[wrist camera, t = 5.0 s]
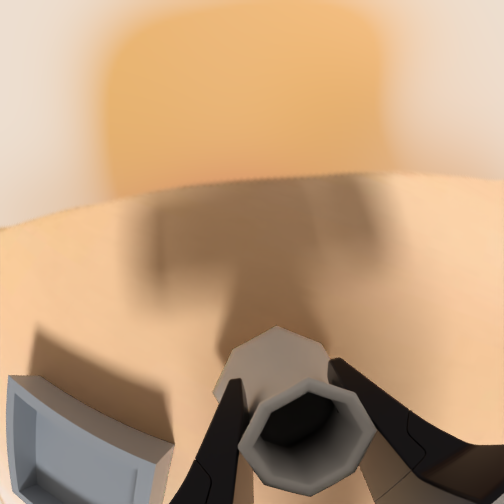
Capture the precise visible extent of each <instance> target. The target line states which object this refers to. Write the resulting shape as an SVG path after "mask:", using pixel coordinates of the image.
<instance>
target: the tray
mask: <svg viewBox="0 0 504 504" xmlns="http://www.w3.org/2000/svg"><path fill="white" fill-rule="evenodd" d="M6 435H7V452H8V463H9V471H10V479H11V485H12V491H13V492H14V493H15V494H16V495H17V496H18V497H19V498H20V499H21V500H23V501H24V502H25V503H26V504H162V503H163V498H164V493H165V488H166V483H167V478H168V474H169V469H170V464H171V459H172V455H173V450H174V446H175V444H172V443H169V442H166V441H164V440H161V439H158V438H156V437H153V436H151V435H148V434H146V433H143V432H141V431H138V430H136V429H134V428H132V427H129V426H127V425H125V424H123V423H121V422H118V421H116V420H114V419H112V418H110V417H108V416H106V415H104V414H102V413H100V412H98V411H96V410H95V409H93V408H91V407H89V406H87V405H86V404H84V403H82V402H80V401H79V400H77V399H75V398H73V397H72V396H70V395H68V394H67V393H65V392H64V391H62V390H60V389H59V388H57V387H56V386H54V385H53V384H51V383H50V382H48V381H47V380H45V379H44V378H43V377H41V376H19V375H8V386H7V403H6Z"/></svg>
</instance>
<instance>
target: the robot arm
mask: <svg viewBox="0 0 504 504" xmlns="http://www.w3.org/2000/svg"><path fill="white" fill-rule="evenodd" d="M327 378H328V382H329V384H331V385H334V386H337V387H340V388H343V389H346V390H349V391H352V392H354V393H356V395H357V396H358V398H359V400H360V402H361V403H362V405H363V407H364V409H365V410H366V412H367V414H368V415H369V417H370V419H371V421H372V422H373V424H374V426H375V428H376V429H377V431H376V433H375V435H374V437H373V439H372V441H371V443H370V445H369V447H368V449H367V451H366V453H365V455H364V457H363V458H362V460H361V462H360V464H359V466H360V468H361V471H362V473H363V476H364V478H365V480H366V483H367V485H368V488H369V490H370V493H371V495H372V497H373V500H374V502H375V504H504V445H474V444H470V443H467V442H464V441H462V440H460V439H458V438H456V437H454V436H452V435H450V434H448V433H446V432H444V431H442V430H441V429H439V428H437V427H435V426H433V425H432V424H430V423H428V422H427V421H425V420H424V419H422V418H421V417H419V416H418V415H416V414H415V413H413V412H412V411H411V410H409V409H408V408H407V407H405V406H404V405H402V404H401V403H400V402H398V401H397V400H396V399H394V398H393V397H392V396H390V395H389V394H388V393H386V392H385V391H384V390H382V389H381V388H380V387H378V386H377V385H376V384H374V383H373V382H372V381H370V380H369V379H368V378H366V377H365V376H364V375H362V374H361V373H360V372H358V371H357V370H356V369H355V368H353V367H352V366H351V365H349V364H348V363H347V362H345V361H344V360H343V359H341V358H334V359H330V360H329V361H328V370H327ZM335 407H336V406H335ZM336 410H337V408H336ZM337 413H339V411H338V410H337ZM249 423H250V422H249V411H248V404H247V398H246V392H245V389H244V385H243V381H242V379H241V378H234V379H230V380H229V382H228V384H227V386H226V389H225V391H224V393H223V396H222V398H221V400H220V403H219V405H218V407H217V410H216V412H215V414H214V417H213V419H212V421H211V423H210V426H209V428H208V430H207V433H206V435H205V437H204V439H203V442H202V444H201V446H200V448H199V451H198V453H197V455H196V457H195V459H196V460H194V461H193V464H192V466H191V468H190V470H189V472H188V474H187V476H186V478H185V480H184V482H183V483H182V485H181V487H180V488H179V490H178V491H177V493H176V494H175V496H174V497H173V499H172V500H171V502H170V503H169V504H254V496H253V469H252V468H251V466H250V465H249V464H248V462H247V461H246V459H245V458H244V456H243V455H242V453H241V452H240V451H239V449H238V444H239V442H240V440H241V438H242V437H243V435H244V433H245V431H246V429H247V427H248V425H249Z"/></svg>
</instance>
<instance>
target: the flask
mask: <svg viewBox="0 0 504 504" xmlns="http://www.w3.org/2000/svg"><path fill="white" fill-rule="evenodd" d="M329 360H330V357H329V355H328V354H327V352H326V350H325V349H324V347H323V345H322V344H321V343H319V342H317V341H314V340H312V339H309V338H306V337H304V336H301V335H299V334H296V333H294V332H291V331H289V330H287V329H284V328H282V327H279V326H277V325H276V326H274V327H273V328H271V329H269V330H267V331H265V332H264V333H262V334H260V335H258V336H256V337H255V338H253V339H251V340H249V341H247V342H245V343H243V344H242V345H240V346H238V347H236V348H234V349H233V350H232V352H231V354H230V356H229V358H228V360H227V362H226V364H225V367H224V369H223V371H222V373H221V375H220V377H219V379H218V381H217V383H216V385H215V388H214V390H213V394H214V396H215V398H216V399H217V401H218V403H220V400H221V398H222V396H223V393H224V391H225V389H226V386H227V384H228V382H229V380H230V379H234V378H241V379H242V381H243V385H244V389H245V392H246V398H247V404H248V411H249V422H250V423H249V425H248V427H247V429H246V431H245V433H244V435H243V437H242V438H241V440H240V442H239V444H238V449H239V451H240V452H241V453H242V455H243V456H244V458H245V459H246V461H247V462H248V464H249V465H250V466H251V468H252V469H253V470H254V472H255V473H256V475H257V476H258V477H259V479H260V480H261V481H262V483H263V484H264V485H267V486H270V487H273V488H277V489H281V490H284V491H288V492H292V493H296V494H301V495H305V496H310V497H311V496H313V495H315V494H317V493H319V492H321V491H323V490H325V489H326V488H328V487H330V486H332V485H334V484H335V483H337V482H339V481H341V480H342V479H344V478H346V477H348V476H349V475H351V474H352V473H354V472H355V471H356V469H357V467H358V466H359V464H360V462H361V460H362V458H363V457H364V455H365V453H366V451H367V449H368V447H369V445H370V443H371V441H372V439H373V437H374V435H375V433H376V431H377V429H376V428H375V426H374V424H373V422H372V421H371V419H370V417H369V415H368V414H367V412H366V410H365V409H364V407H363V405H362V403H361V402H360V400H359V398H358V396H357V395H356V393H354V392H352V391H349V390H346V389H343V388H340V387H337V386H334V385H331V384H329V382H328V378H327V370H328V361H329ZM335 406H336V407H335ZM336 408H337V410H338V411H339V413H337V410H336Z"/></svg>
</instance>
